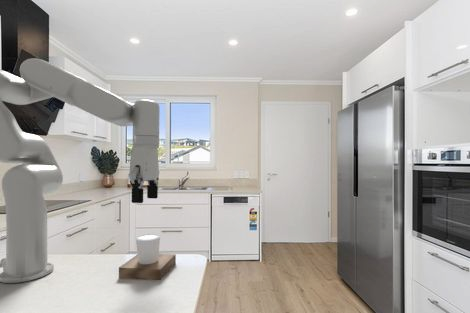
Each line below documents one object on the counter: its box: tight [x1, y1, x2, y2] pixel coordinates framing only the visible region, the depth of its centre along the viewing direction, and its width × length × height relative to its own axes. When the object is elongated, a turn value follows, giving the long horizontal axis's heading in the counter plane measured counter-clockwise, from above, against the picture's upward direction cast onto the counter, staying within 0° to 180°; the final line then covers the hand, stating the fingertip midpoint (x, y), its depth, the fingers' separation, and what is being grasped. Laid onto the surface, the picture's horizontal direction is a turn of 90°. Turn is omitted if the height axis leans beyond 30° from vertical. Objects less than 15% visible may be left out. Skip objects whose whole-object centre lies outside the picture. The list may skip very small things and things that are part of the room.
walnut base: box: [118, 253, 177, 281], centre depth 82 cm, size 12×12×3 cm
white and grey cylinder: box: [135, 233, 161, 264], centre depth 81 cm, size 7×7×7 cm
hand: (145, 200), depth 82 cm, fingers open, 9 cm apart
